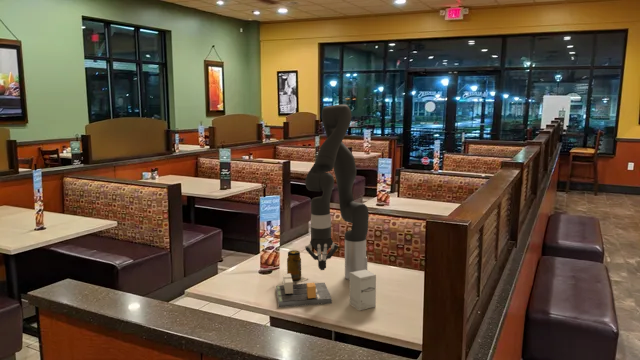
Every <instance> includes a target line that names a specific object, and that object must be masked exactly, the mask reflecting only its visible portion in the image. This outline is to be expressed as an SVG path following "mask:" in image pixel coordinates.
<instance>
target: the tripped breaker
mask: <svg viewBox="0 0 640 360" xmlns="http://www.w3.org/2000/svg"><path fill="white" fill-rule="evenodd" d="M306 283H307V297H308V298H316V286H315V283H316V282H306Z"/></svg>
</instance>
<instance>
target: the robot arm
mask: <svg viewBox="0 0 640 360" xmlns="http://www.w3.org/2000/svg"><path fill="white" fill-rule="evenodd" d="M321 120H322V125H323V128H324V132H325V135H326V139H325V140H324V141H323V143H322V144H321V145H320V147H319V150H318V152H317V155H316V159H315V162H314V163H313V165H312V167H310V169H309V171H308V173H307V174H306V176H305V181H304V183H305V187H306V189H307V190H308V191H311V192H322V195H321V196H316V197H313V198H312V199H311V202H310V211H311V212H310V235H311V239H310V241H309V243H308V245H305V246H304V249H305V251H306V252H307V253H308V254H309V255H310V257H311V258H313V260H315V261H317V266H318V269H319V270H320V271H325V269H327V260H330V259H331V258H333V257H332V256H333V255H335V253H336V252H337V250H338V248H339V246H338V244H337V243H334V242H333V239H332V217H331V198H332V193H333V189H334V186H335V182H336V187H337V192H338V203H339V212H340V216H341V219H342V220H343V221H344V222H347V223H350V224H351V229H349V230H347V231H345V233H344V278H345V279H346V280H348V281H350V272H355V271H361V270H368V257H367V234H368V232H369V216H370V215H369V214H370V213H369V209H368V206H367V205H366V204H365V203H362V202H358V201H355V199H354V198H355V197H354V194H353V193H354V192H353V186H354V183H355V180H356V177H357V166H356V161H355V160H356V159H355V156H354V155H353V153H352V151H350V149H349V148H348V147H347V146H346V144H345V143H344V142H343V140H344V138H345V137H346V134H347V131H348V129H349V128H350V125H351V122H352V111H351V109H350V107H349V105H347V104H335V105H327V106H324V107H323V108H322V110H321ZM331 171H333V172H334V173H333V174H334V176H335V178H334V176H333V174H331ZM335 180H336V181H335ZM330 247H331V249H330ZM313 249H314V251H315V252H316V254H315V253H314V251H312V250H313ZM327 251H328V252H327Z"/></svg>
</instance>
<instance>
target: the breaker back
mask: <svg viewBox="0 0 640 360" xmlns="http://www.w3.org/2000/svg"><path fill="white" fill-rule="evenodd" d="M282 275H283V277H282V280H283V281H282V283H283V284H282V285H284V279H292V277H291V273H290V274H287V273H283V274H282ZM284 288H285V286H284Z"/></svg>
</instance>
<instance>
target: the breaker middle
mask: <svg viewBox="0 0 640 360" xmlns="http://www.w3.org/2000/svg"><path fill="white" fill-rule="evenodd" d="M293 284H294V283H293V281H292V279H284V286H285V294H290V293H293Z"/></svg>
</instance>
